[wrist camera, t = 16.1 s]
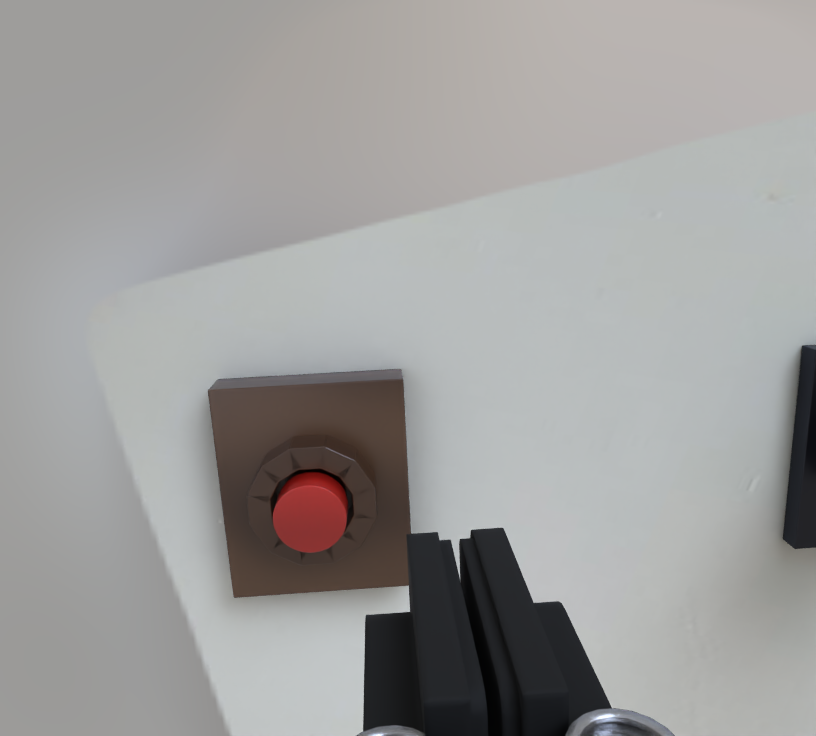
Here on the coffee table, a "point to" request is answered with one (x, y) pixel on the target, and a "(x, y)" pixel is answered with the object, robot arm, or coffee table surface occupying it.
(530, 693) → the robot arm
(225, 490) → the button box
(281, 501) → the button
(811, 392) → the bracket
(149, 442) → the coffee table surface
